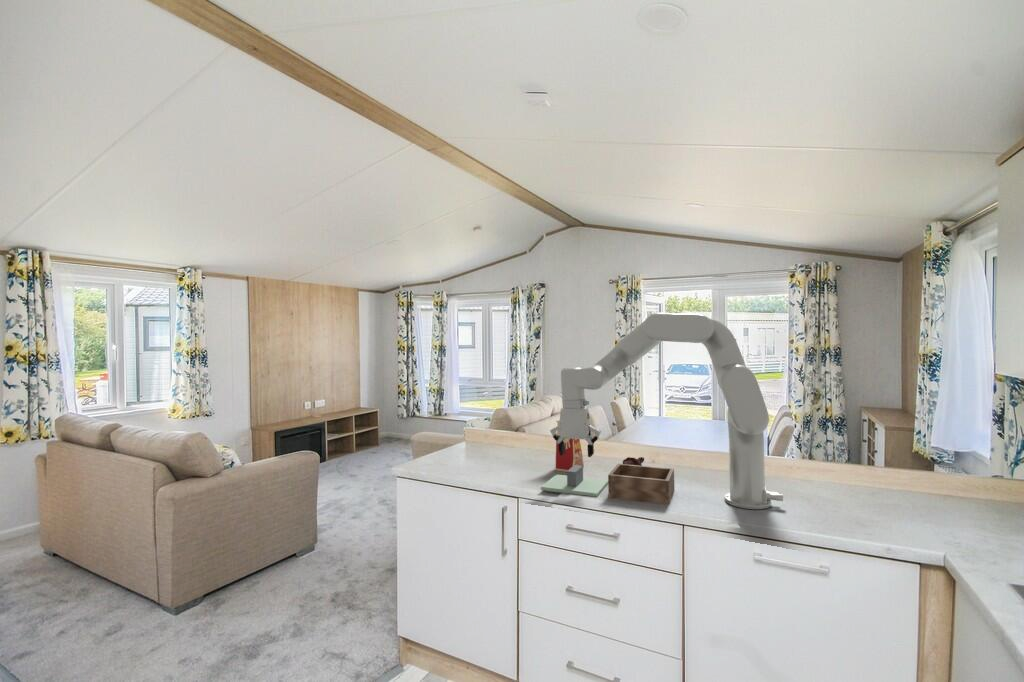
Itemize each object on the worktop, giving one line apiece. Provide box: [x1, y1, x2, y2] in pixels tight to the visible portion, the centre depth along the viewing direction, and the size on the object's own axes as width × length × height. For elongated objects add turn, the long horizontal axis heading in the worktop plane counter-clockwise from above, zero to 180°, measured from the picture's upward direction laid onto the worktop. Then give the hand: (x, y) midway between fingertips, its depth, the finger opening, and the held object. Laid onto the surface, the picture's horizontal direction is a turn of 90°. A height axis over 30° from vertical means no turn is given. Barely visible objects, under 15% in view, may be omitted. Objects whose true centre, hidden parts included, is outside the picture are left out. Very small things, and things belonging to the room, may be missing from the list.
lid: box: [540, 465, 608, 498], centre depth 160 cm, size 19×15×7 cm
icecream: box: [622, 456, 645, 466], centre depth 174 cm, size 7×7×15 cm
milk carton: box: [554, 420, 585, 473], centre depth 185 cm, size 9×9×20 cm
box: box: [607, 463, 675, 506], centre depth 151 cm, size 18×14×8 cm
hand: (576, 455), depth 160 cm, fingers open, 9 cm apart
